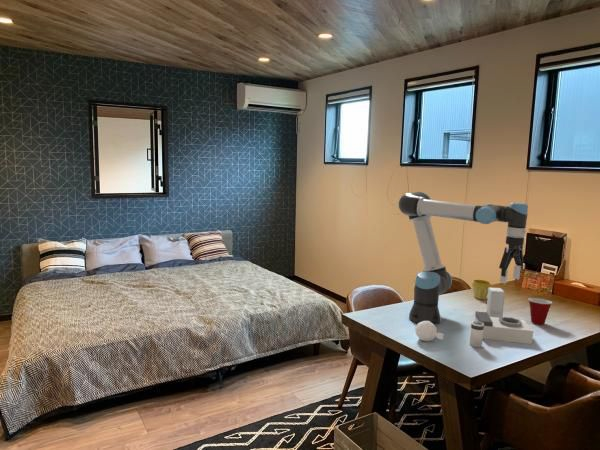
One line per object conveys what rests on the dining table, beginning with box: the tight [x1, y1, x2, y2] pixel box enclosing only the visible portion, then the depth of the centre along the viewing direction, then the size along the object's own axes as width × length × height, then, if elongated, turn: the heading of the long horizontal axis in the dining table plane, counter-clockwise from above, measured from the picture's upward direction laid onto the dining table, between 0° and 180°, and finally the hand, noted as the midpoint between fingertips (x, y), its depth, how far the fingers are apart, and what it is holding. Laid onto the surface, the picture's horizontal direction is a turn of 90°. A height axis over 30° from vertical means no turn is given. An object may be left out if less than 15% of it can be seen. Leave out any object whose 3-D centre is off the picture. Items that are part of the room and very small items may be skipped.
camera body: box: [474, 310, 534, 345], centre depth 207 cm, size 22×14×8 cm, turn 78°
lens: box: [469, 320, 484, 348], centre depth 194 cm, size 5×5×10 cm
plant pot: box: [471, 279, 492, 300], centre depth 266 cm, size 10×10×10 cm
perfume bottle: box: [415, 321, 445, 342], centre depth 197 cm, size 9×9×12 cm
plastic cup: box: [527, 297, 553, 326], centre depth 226 cm, size 11×11×12 cm
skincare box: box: [486, 287, 506, 318], centre depth 229 cm, size 8×7×16 cm
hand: (509, 280), depth 211 cm, fingers open, 13 cm apart
